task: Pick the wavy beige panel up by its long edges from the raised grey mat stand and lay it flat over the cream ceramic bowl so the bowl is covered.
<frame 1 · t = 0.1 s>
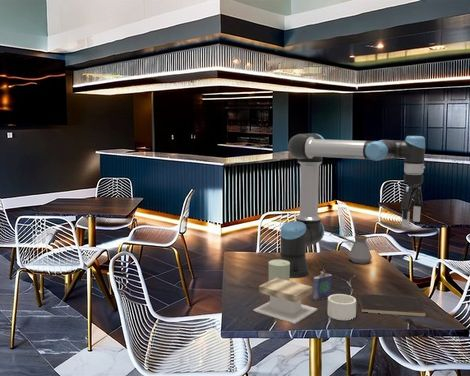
hand: (410, 224, 197), 28 cm above the table, fingers open, 13 cm apart
flask: (322, 297, 191), on the table
hardcover book: (389, 308, 181), on the table
wavy beige panel: (285, 292, 176), point 7 cm above the table, touching mat stand
can: (278, 289, 200), on the table
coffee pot: (350, 261, 240), on the table
mat stand: (285, 310, 177), on the table
bowl: (341, 314, 174), on the table
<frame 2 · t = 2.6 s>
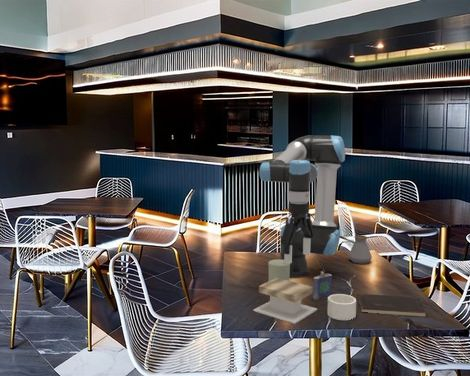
hand: (297, 258, 176), 20 cm above the table, fingers open, 13 cm apart
nothing on the table moved.
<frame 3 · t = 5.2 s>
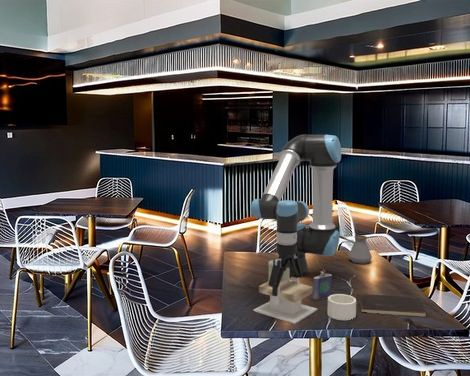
hand: (285, 298, 177), 5 cm above the table, fingers closed on wavy beige panel, 12 cm apart
wavy beige panel: (285, 292, 176), point 7 cm above the table, touching gripper, mat stand
everything else where it was.
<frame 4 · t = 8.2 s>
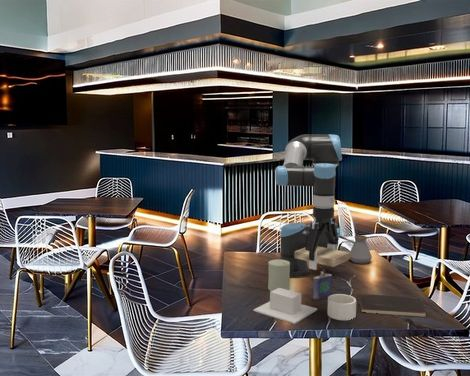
hand: (321, 265, 172), 19 cm above the table, fingers closed on wavy beige panel, 12 cm apart
wavy beige panel: (322, 258, 172), point 21 cm above the table, touching gripper
everything else where it was.
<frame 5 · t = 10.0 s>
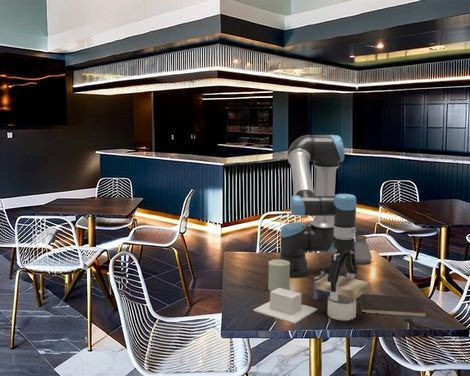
hand: (342, 295, 172), 8 cm above the table, fingers closed on wavy beige panel, 12 cm apart
wavy beige panel: (342, 288, 172), point 10 cm above the table, touching gripper
everything else where it was.
when the fingers open (5 cm above the table, at t = 11.5 s): wavy beige panel drops 1 cm, resting on bowl.
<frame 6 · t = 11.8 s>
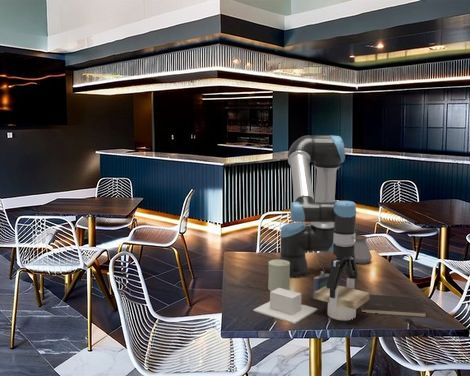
hand: (341, 300, 173), 5 cm above the table, fingers open, 13 cm apart
wavy beige panel: (341, 299, 173), point 6 cm above the table, touching bowl
everything else where it was.
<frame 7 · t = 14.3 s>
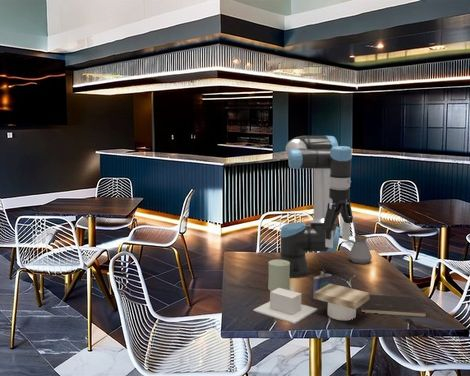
hand: (337, 243, 179), 25 cm above the table, fingers open, 13 cm apart
nothing on the table moved.
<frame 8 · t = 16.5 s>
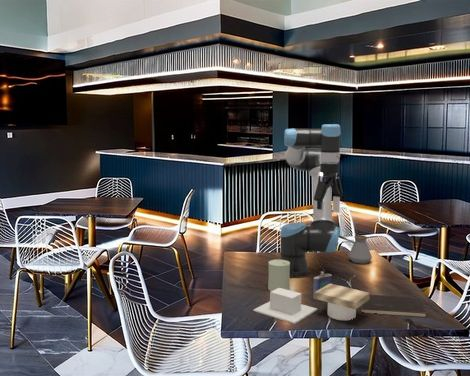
hand: (328, 214, 193), 33 cm above the table, fingers open, 13 cm apart
nothing on the table moved.
at the end: wavy beige panel 0.0 cm off-centre on the bowl, point 6.0 cm above the bowl's base; wavy beige panel tilted 0°; the gripper is holding nothing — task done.
